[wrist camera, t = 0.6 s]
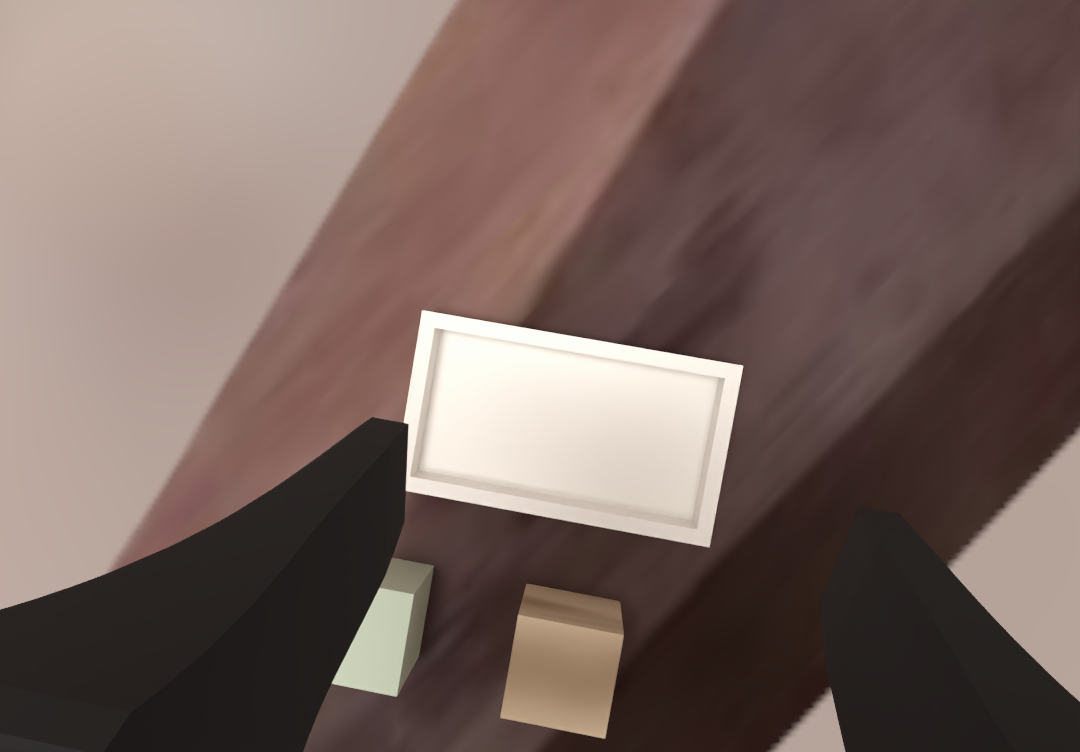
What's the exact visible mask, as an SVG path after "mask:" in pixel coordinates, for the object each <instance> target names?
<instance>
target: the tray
mask: <svg viewBox="0 0 1080 752" xmlns="http://www.w3.org/2000/svg"><path fill="white" fill-rule="evenodd" d="M742 370H743V366H742V365H736V364H730V363H725V362H719V361H713V360H707V359H701V358H696V357H690V356H684V355H678V354H673V353H667V352H661V351H655V350H649V349H644V348H638V347H632V346H626V345H621V344H615V343H609V342H603V341H597V340H592V339H586V338H580V337H574V336H568V335H563V334H557V333H551V332H545V331H540V330H534V329H528V328H522V327H516V326H511V325H505V324H499V323H493V322H488V321H482V320H476V319H470V318H464V317H459V316H453V315H447V314H441V313H436V312H430V311H424V310H422V315H421V321H420V327H419V333H418V339H417V345H416V351H415V357H414V363H413V369H412V376H411V382H410V388H409V394H408V400H407V406H406V412H405V418H404V423H406V424H409V427H408V450H407V473H406V491H409V492H415V493H420V494H425V495H431V496H436V497H441V498H447V499H452V500H458V501H463V502H468V503H474V504H479V505H484V506H490V507H495V508H501V509H506V510H511V511H517V512H522V513H527V514H533V515H538V516H543V517H549V518H554V519H560V520H565V521H570V522H576V523H581V524H586V525H592V526H597V527H602V528H608V529H613V530H619V531H624V532H629V533H635V534H640V535H645V536H651V537H656V538H662V539H667V540H672V541H678V542H683V543H688V544H694V545H699V546H704V547H710V542H711V537H712V531H713V526H714V521H715V515H716V510H717V504H718V499H719V494H720V488H721V483H722V478H723V472H724V467H725V462H726V456H727V451H728V445H729V440H730V435H731V429H732V424H733V419H734V413H735V408H736V403H737V397H738V392H739V386H740V381H741V376H742Z"/></svg>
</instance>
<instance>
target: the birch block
mask: <svg viewBox="0 0 1080 752" xmlns="http://www.w3.org/2000/svg"><path fill="white" fill-rule="evenodd" d="M623 638H624V631H623V622H622V613H621V604H620V601H616V600H611V599H606V598H600V597H595V596H590V595H585V594H580V593H574V592H569V591H564V590H559V589H554V588H548V587H543V586H538V585H533V584H526V587H525V591H524V595H523V599H522V602H521V606H520V610H519V614H518V619H517V624H516V630H515V636H514V641H513V647H512V653H511V659H510V664H509V670H508V676H507V681H506V687H505V693H504V699H503V704H502V710H501V716H500V718H504V719H509V720H514V721H519V722H524V723H529V724H534V725H539V726H544V727H549V728H554V729H559V730H564V731H569V732H574V733H579V734H584V735H589V736H594V737H599V738H604V739H605V737H606V731H607V726H608V720H609V715H610V709H611V704H612V698H613V693H614V687H615V682H616V676H617V671H618V665H619V660H620V654H621V649H622V643H623Z"/></svg>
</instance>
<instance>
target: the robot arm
mask: <svg viewBox="0 0 1080 752" xmlns="http://www.w3.org/2000/svg"><path fill="white" fill-rule="evenodd" d="M408 427H409V424H406V423H400V422H395V421H389V420H384V419H379V418H373V417H372V418H370V419H369V420H367V421H366V422H364V423H363V424H362V425H360V426H359V427H358V428H356V429H355V430H354V431H352V432H351V433H350V434H348V435H347V436H346V437H344V438H343V439H342V440H340V441H339V442H338V443H336V444H335V445H334V446H332V447H331V448H330V449H328V450H327V451H326V452H324V453H323V454H321V455H320V456H319V457H317V458H316V459H315V460H313V461H312V462H310V463H309V464H308V465H306V466H305V467H303V468H302V469H301V470H299V471H298V472H296V473H295V474H293V475H292V476H291V477H289V478H288V479H286V480H285V481H283V482H282V483H281V484H279V485H278V486H276V487H275V488H273V489H271V490H270V491H268V492H267V493H265V494H264V495H262V496H260V497H259V498H257V499H256V500H254V501H252V502H251V503H249V504H248V505H246V506H245V507H243V508H241V509H240V510H238V511H237V512H235V513H233V514H232V515H230V516H228V517H226V518H224V519H223V520H221V521H219V522H217V523H215V524H214V525H212V526H210V527H208V528H206V529H204V530H202V531H200V532H198V533H196V534H194V535H192V536H190V537H188V538H186V539H184V540H183V541H181V542H179V543H176V544H174V545H172V546H170V547H168V548H166V549H163V550H161V551H159V552H156V553H154V554H152V555H149V556H147V557H145V558H143V559H140V560H138V561H136V562H133V563H131V564H129V565H126V566H124V567H122V568H119V569H117V570H115V571H112V572H110V573H107V574H105V575H102V576H100V577H97V578H94V579H92V580H89V581H87V582H83V583H81V584H78V585H75V586H73V587H70V588H67V589H64V590H61V591H58V592H55V593H52V594H49V595H46V596H43V597H40V598H38V599H34V600H31V601H28V602H25V603H21V604H18V605H15V606H12V607H8V608H4V609H1V610H0V752H303V750H304V747H305V745H306V742H307V740H308V737H309V734H310V732H311V729H312V726H313V724H314V721H315V719H316V716H317V714H318V712H319V709H320V707H321V705H322V703H323V701H324V698H325V696H326V694H327V692H328V690H329V688H330V686H331V684H332V682H333V680H334V678H335V676H336V674H337V672H338V670H339V668H340V666H341V664H342V662H343V660H344V658H345V656H346V654H347V652H348V650H349V648H350V646H351V644H352V642H353V640H354V638H355V636H356V634H357V632H358V630H359V628H360V626H361V624H362V622H363V620H364V618H365V616H366V614H367V612H368V610H369V608H370V606H371V604H372V602H373V600H374V598H375V596H376V594H377V592H378V590H379V588H380V586H381V584H382V582H383V579H384V577H385V575H386V573H387V570H388V567H389V564H390V562H391V559H392V556H393V553H394V551H395V548H396V545H397V542H398V539H399V536H400V533H401V530H402V527H403V524H404V519H405V496H406V473H407V450H408ZM820 603H821V617H822V631H823V642H824V652H825V662H826V666H827V671H828V676H829V681H830V685H831V690H832V694H833V698H834V703H835V708H836V712H837V717H838V721H839V725H840V729H841V734H842V738H843V743H844V747H845V751H846V752H1080V702H1079V701H1078V700H1077V699H1076V698H1075V697H1074V696H1072V695H1071V694H1070V693H1069V692H1068V691H1067V690H1066V689H1065V688H1064V687H1063V686H1062V685H1060V684H1059V683H1058V682H1057V681H1056V680H1055V679H1054V678H1053V677H1052V676H1051V675H1050V674H1049V673H1048V672H1047V671H1045V669H1044V668H1043V667H1042V666H1041V665H1040V664H1039V663H1038V662H1036V660H1035V659H1034V658H1032V657H1031V656H1030V655H1029V654H1028V653H1027V652H1026V651H1025V650H1024V649H1023V648H1022V647H1021V646H1020V645H1019V644H1018V643H1017V642H1016V641H1015V640H1014V639H1013V638H1012V637H1011V636H1010V634H1008V632H1006V630H1005V629H1004V628H1003V627H1002V626H1001V625H1000V624H999V623H998V622H997V621H996V620H995V619H994V618H993V617H992V616H991V615H990V613H989V612H988V611H987V610H986V609H985V608H984V607H983V606H982V605H981V604H980V603H979V602H978V601H977V599H976V598H975V597H974V596H973V595H972V594H971V593H970V592H969V591H968V590H967V588H966V587H965V586H964V585H963V584H962V583H961V582H960V581H959V580H958V578H957V577H956V576H955V575H954V574H953V573H952V572H951V570H950V569H949V568H948V567H947V566H946V565H945V564H944V562H943V561H942V560H941V559H940V558H939V557H938V556H937V555H936V553H935V552H934V551H933V550H932V549H931V548H930V547H929V546H928V544H927V543H926V542H925V541H924V540H923V539H922V538H921V537H920V535H919V534H918V533H917V532H916V531H915V530H914V529H913V528H912V527H911V526H910V524H909V523H908V522H907V521H906V520H905V519H904V518H903V517H902V516H901V515H900V514H895V513H890V512H884V511H879V510H874V509H868V508H863V507H859V510H858V512H857V515H856V517H855V519H854V522H853V524H852V527H851V529H850V531H849V534H848V536H847V539H846V541H845V543H844V546H843V548H842V551H841V553H840V555H839V558H838V560H837V563H836V565H835V567H834V570H833V572H832V575H831V577H830V579H829V582H828V584H827V587H826V589H825V591H824V594H823V596H822V599H821V601H820Z"/></svg>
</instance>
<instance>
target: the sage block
mask: <svg viewBox="0 0 1080 752" xmlns="http://www.w3.org/2000/svg"><path fill="white" fill-rule="evenodd" d="M433 570H434V566H433V565H428V564H423V563H418V562H412V561H407V560H402V559H397V558H392V559H391V562H390V564H389V567H388V570H387V573H386V575H385V577H384V579H383V582H382V584H381V586H380V588H379V590H378V592H377V594H376V596H375V598H374V600H373V602H372V604H371V606H370V608H369V610H368V612H367V614H366V616H365V618H364V620H363V622H362V624H361V626H360V628H359V630H358V632H357V634H356V636H355V638H354V640H353V642H352V644H351V646H350V648H349V650H348V652H347V654H346V656H345V658H344V660H343V662H342V664H341V666H340V668H339V670H338V672H337V674H336V676H335V678H334V680H333V682H332V684H336V685H341V686H346V687H351V688H356V689H361V690H366V691H371V692H376V693H381V694H386V695H391V696H396V697H397V695H398V694H399V692H400V690H401V688H402V686H403V685H404V683H405V681H406V679H407V677H408V675H409V674H410V672H411V670H412V668H413V666H414V665H415V663H416V661H417V659H418V657H419V653H420V647H421V641H422V635H423V629H424V623H425V617H426V612H427V606H428V600H429V594H430V588H431V582H432V576H433Z"/></svg>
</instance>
